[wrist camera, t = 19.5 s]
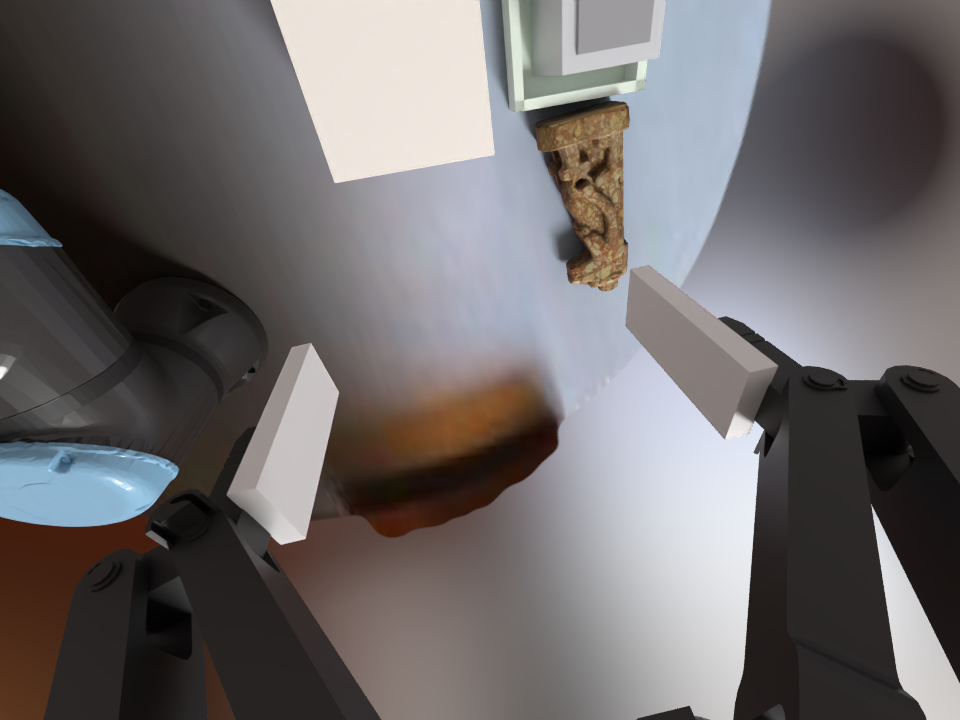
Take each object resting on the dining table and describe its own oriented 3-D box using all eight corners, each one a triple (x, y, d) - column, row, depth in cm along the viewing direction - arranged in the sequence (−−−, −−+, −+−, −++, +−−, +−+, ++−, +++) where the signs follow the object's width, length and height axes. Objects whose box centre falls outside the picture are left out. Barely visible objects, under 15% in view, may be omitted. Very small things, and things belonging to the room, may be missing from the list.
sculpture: (609, 98, 36) (634, 99, 32) (615, 272, 47) (634, 290, 43) (528, 124, 36) (542, 129, 32) (553, 291, 48) (566, 310, 44)
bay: (360, 153, 36) (334, 183, 26) (321, 24, 30) (269, -2, 20) (475, 133, 36) (494, 154, 26) (459, 0, 30) (475, -38, 20)
